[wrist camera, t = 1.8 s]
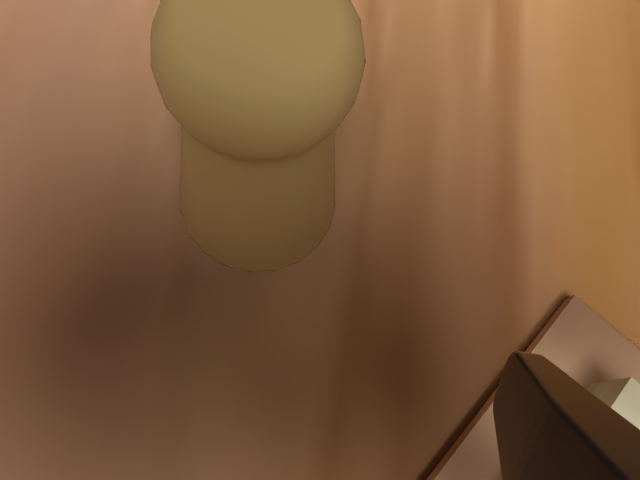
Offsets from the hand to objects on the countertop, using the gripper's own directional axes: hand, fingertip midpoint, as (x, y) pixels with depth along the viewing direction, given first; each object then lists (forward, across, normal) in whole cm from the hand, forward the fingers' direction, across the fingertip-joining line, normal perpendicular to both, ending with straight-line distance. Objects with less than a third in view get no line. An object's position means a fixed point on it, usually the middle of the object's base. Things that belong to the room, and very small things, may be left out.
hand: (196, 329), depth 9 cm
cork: (+15, 0, +4) cm, 16 cm away
